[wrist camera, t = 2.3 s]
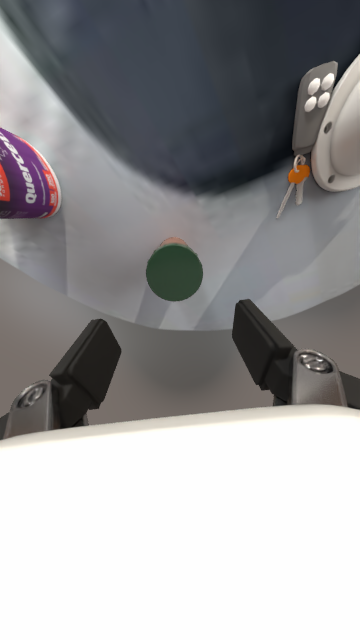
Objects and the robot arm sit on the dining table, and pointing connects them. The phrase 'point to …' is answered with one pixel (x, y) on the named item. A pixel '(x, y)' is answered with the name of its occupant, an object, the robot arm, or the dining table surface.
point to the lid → (174, 272)
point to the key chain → (309, 121)
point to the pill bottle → (26, 181)
